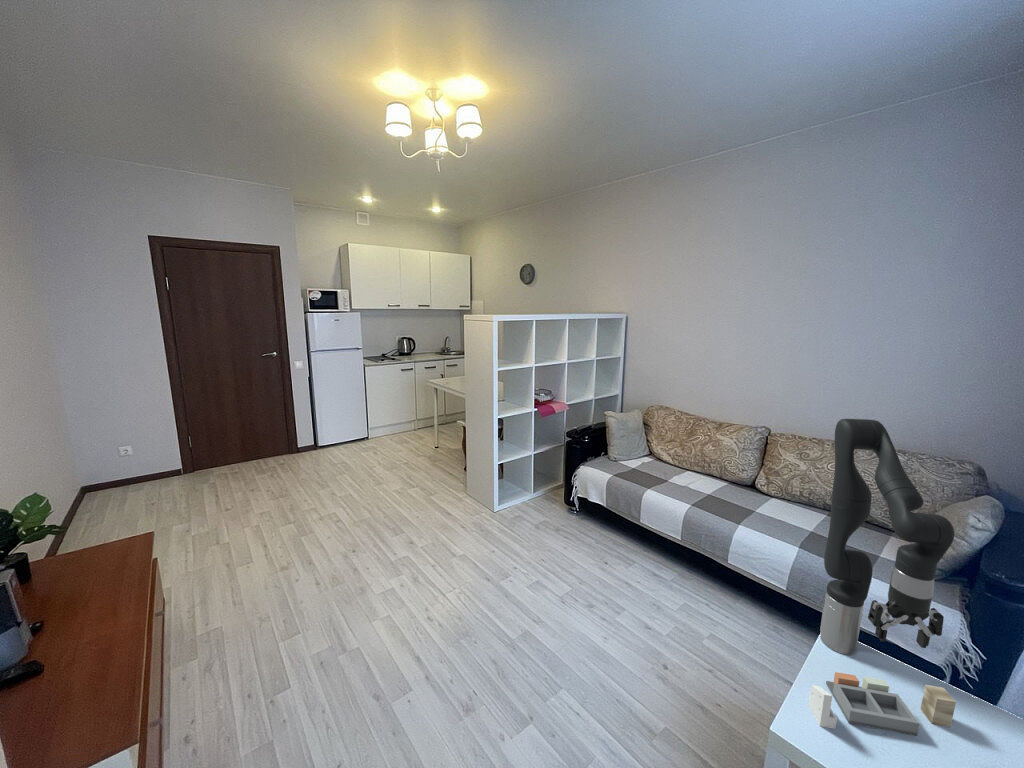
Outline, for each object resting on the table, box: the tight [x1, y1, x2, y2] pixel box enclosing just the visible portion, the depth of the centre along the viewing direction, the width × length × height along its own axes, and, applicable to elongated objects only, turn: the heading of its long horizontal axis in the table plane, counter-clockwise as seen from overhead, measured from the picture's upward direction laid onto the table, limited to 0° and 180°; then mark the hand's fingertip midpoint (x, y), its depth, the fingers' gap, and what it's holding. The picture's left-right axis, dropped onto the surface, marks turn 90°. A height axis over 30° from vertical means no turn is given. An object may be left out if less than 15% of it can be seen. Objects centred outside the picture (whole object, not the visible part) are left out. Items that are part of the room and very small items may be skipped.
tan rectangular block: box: [919, 684, 957, 728], centre depth 105 cm, size 4×4×8 cm
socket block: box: [825, 671, 920, 737], centre depth 108 cm, size 12×15×5 cm
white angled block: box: [808, 684, 838, 730], centre depth 105 cm, size 4×10×9 cm, turn 168°
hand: (900, 642), depth 102 cm, fingers open, 8 cm apart
